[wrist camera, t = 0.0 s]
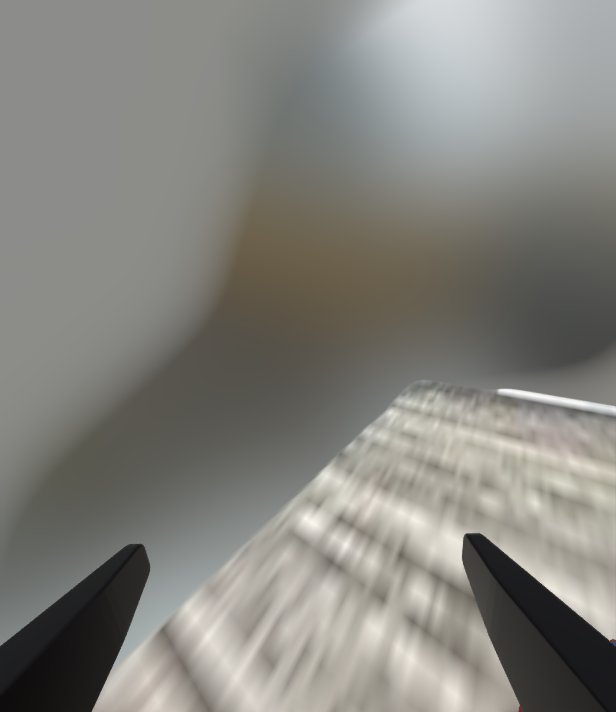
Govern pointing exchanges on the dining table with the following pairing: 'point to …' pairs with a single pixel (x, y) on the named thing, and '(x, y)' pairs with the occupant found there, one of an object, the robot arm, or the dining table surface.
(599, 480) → the dining table surface
